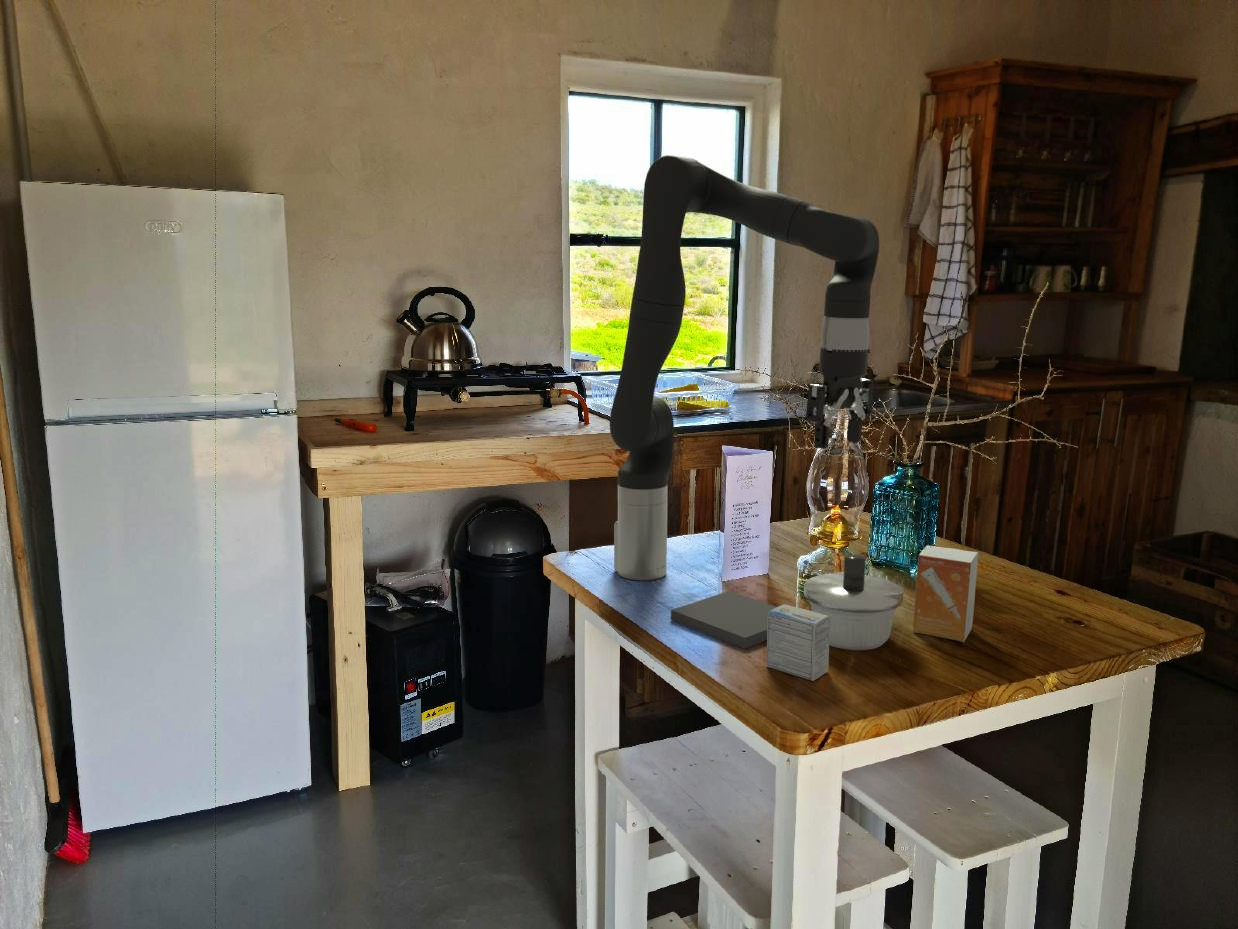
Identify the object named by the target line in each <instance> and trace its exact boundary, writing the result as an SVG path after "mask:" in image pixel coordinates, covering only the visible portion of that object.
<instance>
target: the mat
mask: <svg viewBox="0 0 1238 929" xmlns="http://www.w3.org/2000/svg"><path fill="white" fill-rule="evenodd" d="M776 607H777V606H775V605H772V604H769V603H766V602H764V601H760V600H757V599H755V598H751V597H749V596H745V595H742V594H740V593H736V592H733V591H730V590H727V591H724V592H722V593H719V594H715V595H713V596H709V597H706V598H702V599H700V600H697V601H694V602H691V603H688V604H684V605H681V606H679V607H676V608H673V609H670V621H671V620H672V622H674V623H676V624H679V623H680V624H679V625H682V626H685V627H686V628H687V627H688V628H689V629H692V630H695V631H698V632H700V633H703V634H704V635H705V634H706V635H708V636H711V637H712V638H715V637H716V639H718V638H719V639H718V640H721V641H723V640H725V641H724V642H726V641H727V642H726V643H728V642H729V644H731V643H733V644H734V645H733V644H732V645H733V646H736V645H737V646H736V647H739V648H741V647H743V648H742V649H744V648H746V649H748V648H747V647H749V648H751V647H753V645H754V646H756V645H759V644H761V643H763V642H767V641H766V640H767V627H768V612H769V611H771V610H773V609H774V608H776ZM758 643H759V644H758Z"/></svg>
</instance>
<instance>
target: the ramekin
mask: <svg viewBox="0 0 1238 929" xmlns="http://www.w3.org/2000/svg"><path fill="white" fill-rule="evenodd" d="M808 602H809V605H810V611H813V612H816V613H820V614H823V615H827V616H829V617H830V632H829V647H834V648H836V649H837V648H838V649H843V650H848V651H850V650H851V651H867V650H868V651H869V650H874V649H877V648H879V647H881V646H883V645H884V644H885V643H886V642H887V641H888V640H889V638H890V635H891V631H892V627H893V623H894V622H893V621H894V616H895V611H896V610H897V608H895V609H892V610H888V611H883V612H874V613H856V612H845V611H839V610H834V609H829V608H826V607H822V606H820V605H817V604H815V603H813V602H811V601H810V600H808Z"/></svg>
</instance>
